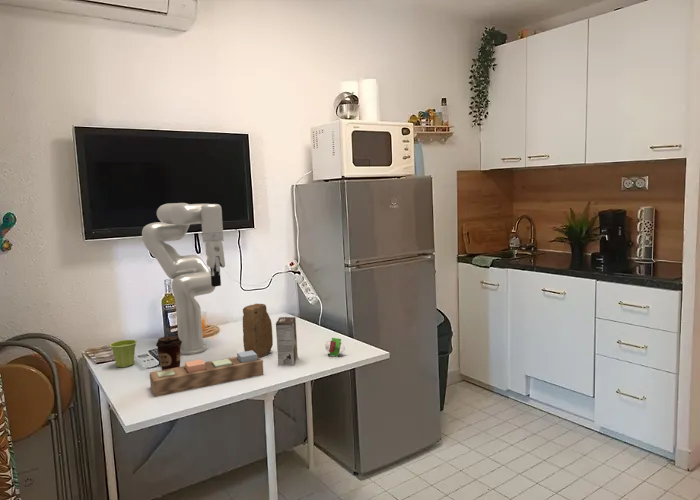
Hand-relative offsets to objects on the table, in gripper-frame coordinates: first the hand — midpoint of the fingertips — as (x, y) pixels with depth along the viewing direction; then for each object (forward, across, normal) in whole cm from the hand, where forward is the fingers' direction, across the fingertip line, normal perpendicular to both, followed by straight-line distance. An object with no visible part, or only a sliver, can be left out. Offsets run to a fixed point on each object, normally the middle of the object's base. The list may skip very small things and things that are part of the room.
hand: (216, 285), depth 198 cm
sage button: (+28, -19, +4) cm, 34 cm away
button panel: (+29, -19, +9) cm, 36 cm away
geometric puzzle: (+29, -18, -40) cm, 53 cm away
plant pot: (+29, +16, +33) cm, 47 cm away
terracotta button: (+26, -19, +13) cm, 35 cm away
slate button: (+26, -19, -5) cm, 33 cm away
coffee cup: (+29, -4, +19) cm, 35 cm away
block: (+29, -1, -15) cm, 33 cm away
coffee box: (+29, -16, -21) cm, 39 cm away
